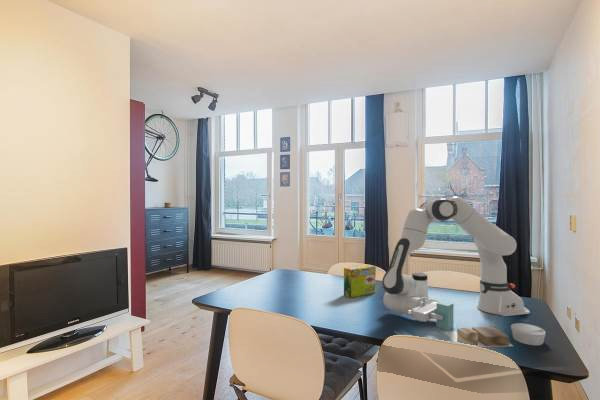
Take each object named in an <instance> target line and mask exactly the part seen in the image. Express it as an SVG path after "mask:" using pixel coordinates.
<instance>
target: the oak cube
mask: <svg viewBox="0 0 600 400" xmlns="http://www.w3.org/2000/svg"><path fill="white" fill-rule="evenodd" d="M456 332H457V342H460V343H464V344H470V345H476V346H478V332H476V331H474V330H473V329H472V328H471V327H469V326H467V327H457V328H456Z"/></svg>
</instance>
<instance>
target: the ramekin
mask: <svg viewBox="0 0 600 400" xmlns="http://www.w3.org/2000/svg"><path fill="white" fill-rule="evenodd" d="M510 329H511V332H512V333H511V334H512V338H513V339H514V340H515V341H516V342H518V343H521V344H525V345H529V346H542V345H543V344H544V342H545V338H546V337H545V336H546V331H545V330H544V329H543V328H541V327H540V326H537V325H533V324H530V323H529V324H528V323H520V322H519V323H517V322H516V323H512V324H511V325H510Z"/></svg>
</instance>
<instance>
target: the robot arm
mask: <svg viewBox="0 0 600 400" xmlns="http://www.w3.org/2000/svg"><path fill="white" fill-rule="evenodd" d="M450 219H451V220H452V221H453V222H454V223H456V225H457V226H458V227H460V228H461V229H462V230H463V231H464V232H466V234H467V235H469V236H470V237H472V238H473V243H474V244H475V247H476V248H477V253H478V257H479V262H480V280H479V292H480V293H479V294H480V295H479V300H478V303H477V305H476V307H477V309H478V310H479V311H482V312H485V313H489V314H494V315H497V316H498V315H499V316H502V317H511V316H512V317H513V316H520V315H529V314H530V313H531V312H530V310H529V309H528V308H527V307H525V305H524V300H523V299H522V298H521V297H520V296H519V295H518V294H516V293H515V292H513V291H512V290H511V288H512V289H515V287H516V285H515V284H514V283H509V282H508V280H507V279H508V278H507V277H508V275H507V273H508V272H507V271H508V270H507V269H508V267H507V264H506V263H505V261H504V258H503V256H510V255H512V254H513V253H515V252H516V249H517V242H516V239H515V238H514V237H513V236H511V235H510V234H508V232H505V231H504V230H503V229H501V228H500V227H499V226H497V225H496V224H494V223H493V222H491V221H490V220H489V219H487V218H486V217H485V216H484V215H483V214H481V213H480V212H479V211H478V210H477V209H476V208H475V207H473V205H471V204H470V203H469V202H467V201H466V200H465V199H463V198H461V197H460V196H451V197H449V198H437V199H436V198H433V199H431V200H428V201H425V202H423V204H421V205H420V206H419V208H413V209H411V210H409V211H408V213H407V216H406V219H405V222H404V224H403V228H402V232H401V235H400V238H399V240H398V241H397V243H396V246H395V248H394V250H393V253H392V256H391V260H390V263H389V265H388V269H387V270H386V271H385V273H384V275H383V277H382V281H381V283H382V286H383V287H382V288H383V289H384V291H385V293H384V294H383V296H382V297H383V299H382V300H383V304H384V306H385V308H387V309H388V310H389V311H390V310H391V311H392V312H396V313H399V314H405V315H407V316H410V317H411V318H412V319H414V320H417V321H419V322H425V323H427V322H428V321H430V320H431V319H432V320H437V319H440V320H442V319H444V315H441V314H437V303H438V302H440V301H439V300H436V299H432V298H430V297H428V296H427V297H415V296H413V295H414V292H415V288H416V283H415V280H414V279H413V277H412V275H409V274H405V273H403V271H404V268H405V265H406V262H407V258H408V256H409V255H410V254H411V253H412V252H415V251H418V250H419V249H422V247H423V246H424V245H425V242H426V240H427V234H428V228H429V226H430V224H431V223H440V222H446V221H448V220H450Z"/></svg>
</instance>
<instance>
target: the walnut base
mask: <svg viewBox="0 0 600 400" xmlns="http://www.w3.org/2000/svg"><path fill="white" fill-rule="evenodd" d="M471 329H473V330H474V331H476V332H478V341H479V342H481V343H482V344H483V345H485V346H502V347H510V346H509V343H510V336H509V335H508V334H506V333H505V332H503V331H502V330H500V329H498V328H497V327H496V326H472V328H471Z"/></svg>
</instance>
